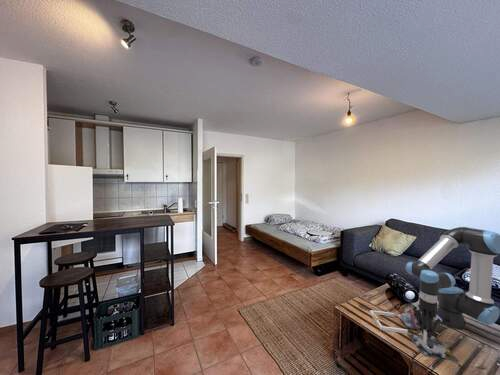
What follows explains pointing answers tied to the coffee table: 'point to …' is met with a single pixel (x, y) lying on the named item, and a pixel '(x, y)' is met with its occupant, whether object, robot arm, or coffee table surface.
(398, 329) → the white angled bracket
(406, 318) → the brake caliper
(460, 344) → the coffee table surface
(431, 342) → the sprocket
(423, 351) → the index plate
